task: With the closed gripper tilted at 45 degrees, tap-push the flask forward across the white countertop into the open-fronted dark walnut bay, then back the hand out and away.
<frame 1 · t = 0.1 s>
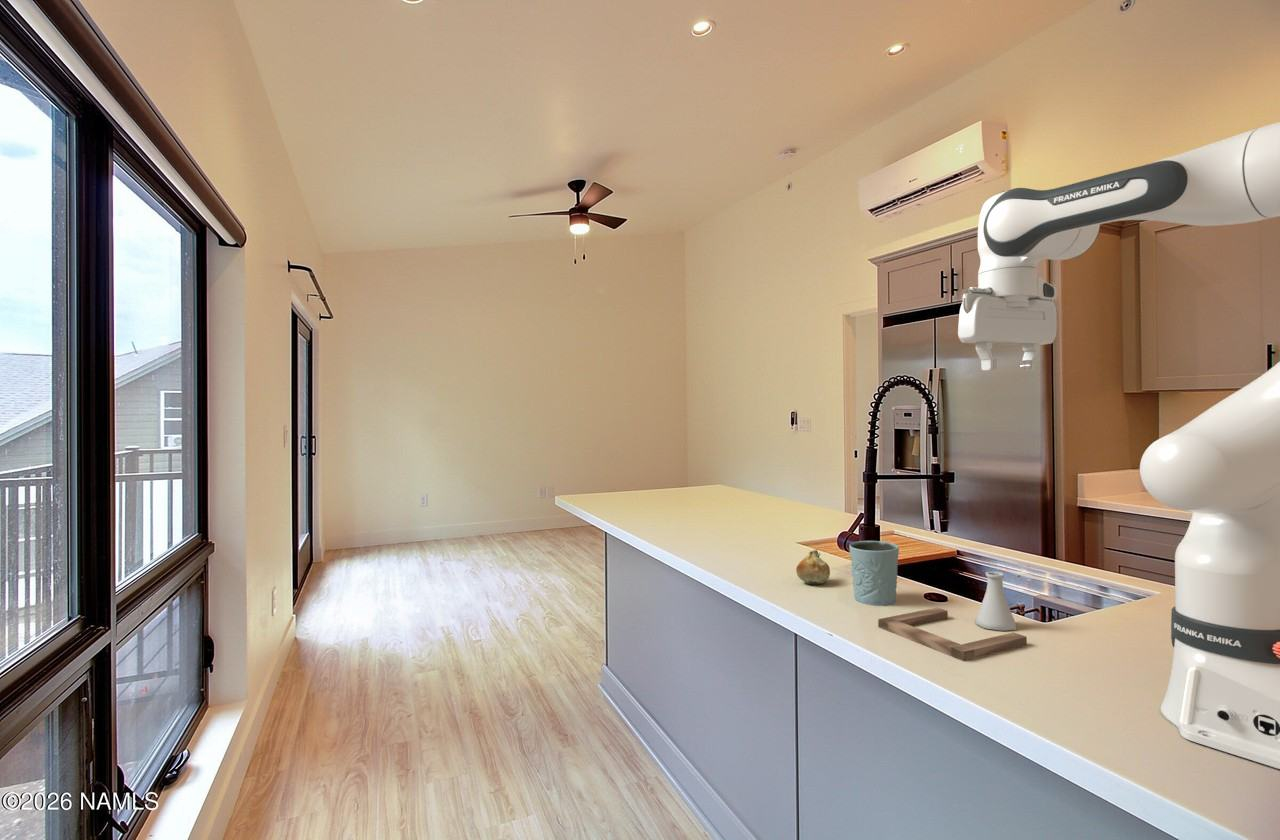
hand: (1008, 370, 112), 48 cm above the countertop, tool pointing down, fingers open, 8 cm apart
flask: (995, 626, 125), on the countertop
onion: (813, 584, 157), on the countertop
blue embossed cup: (874, 601, 142), on the countertop
walnut bay: (954, 634, 120), on the countertop
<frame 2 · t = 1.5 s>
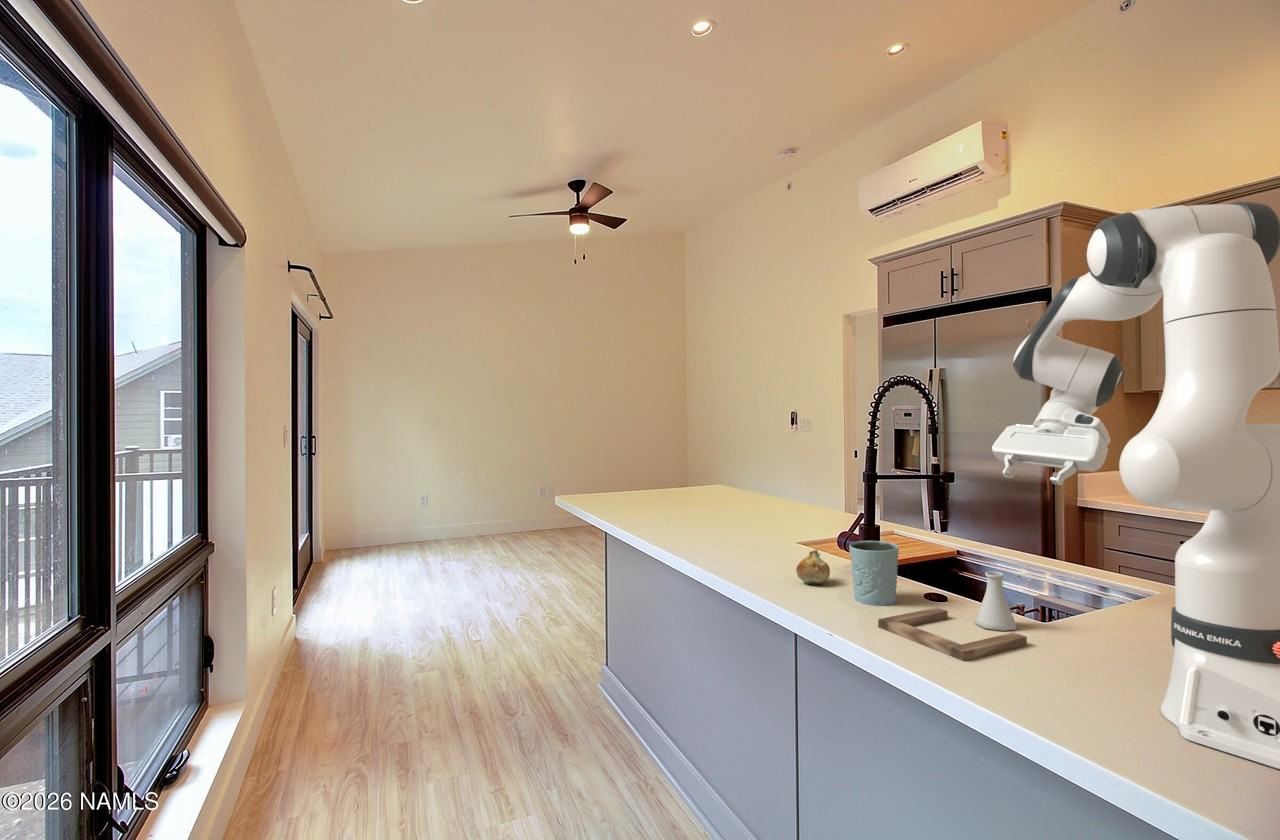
hand: (1030, 479, 129), 27 cm above the countertop, tool tilted 45°, fingers open, 8 cm apart
nothing on the countertop moved.
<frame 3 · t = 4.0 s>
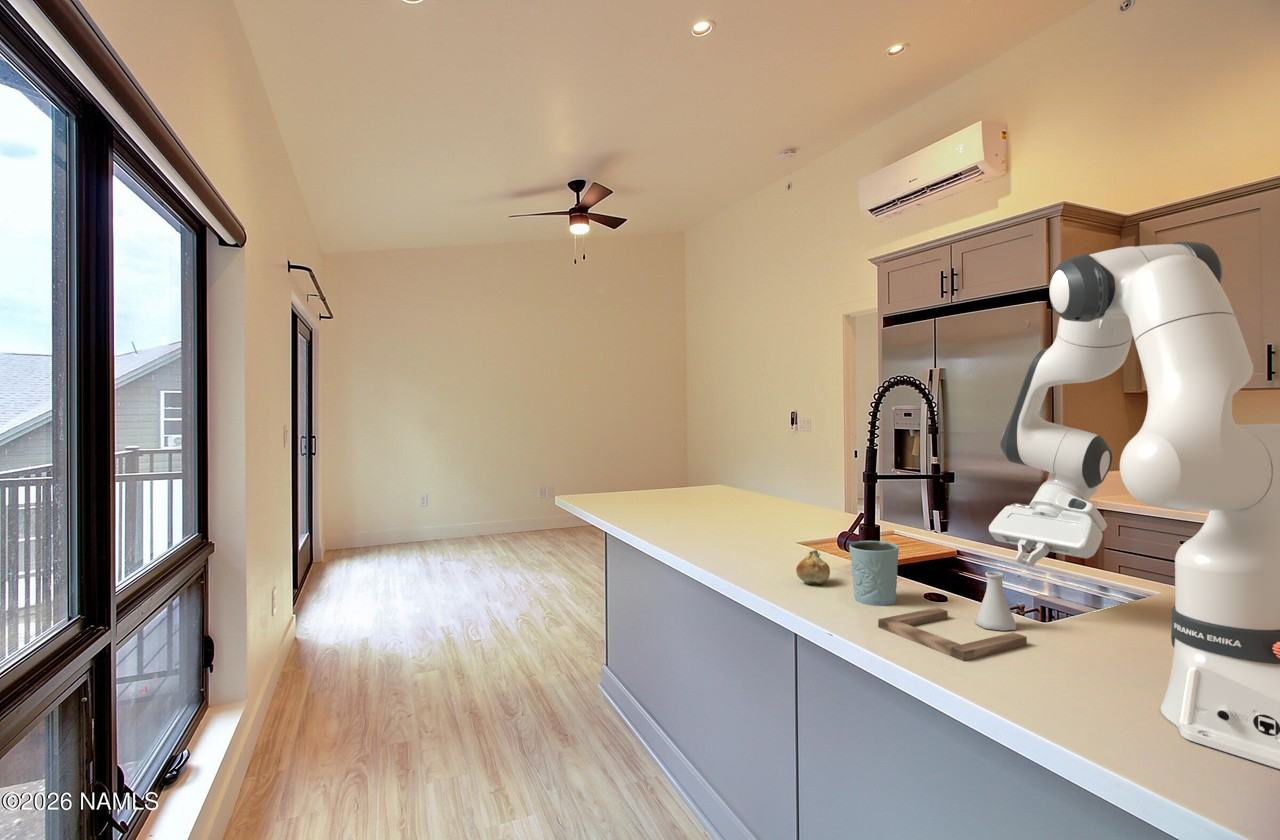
hand: (1023, 563, 128), 11 cm above the countertop, tool tilted 45°, fingers closed
nothing on the countertop moved.
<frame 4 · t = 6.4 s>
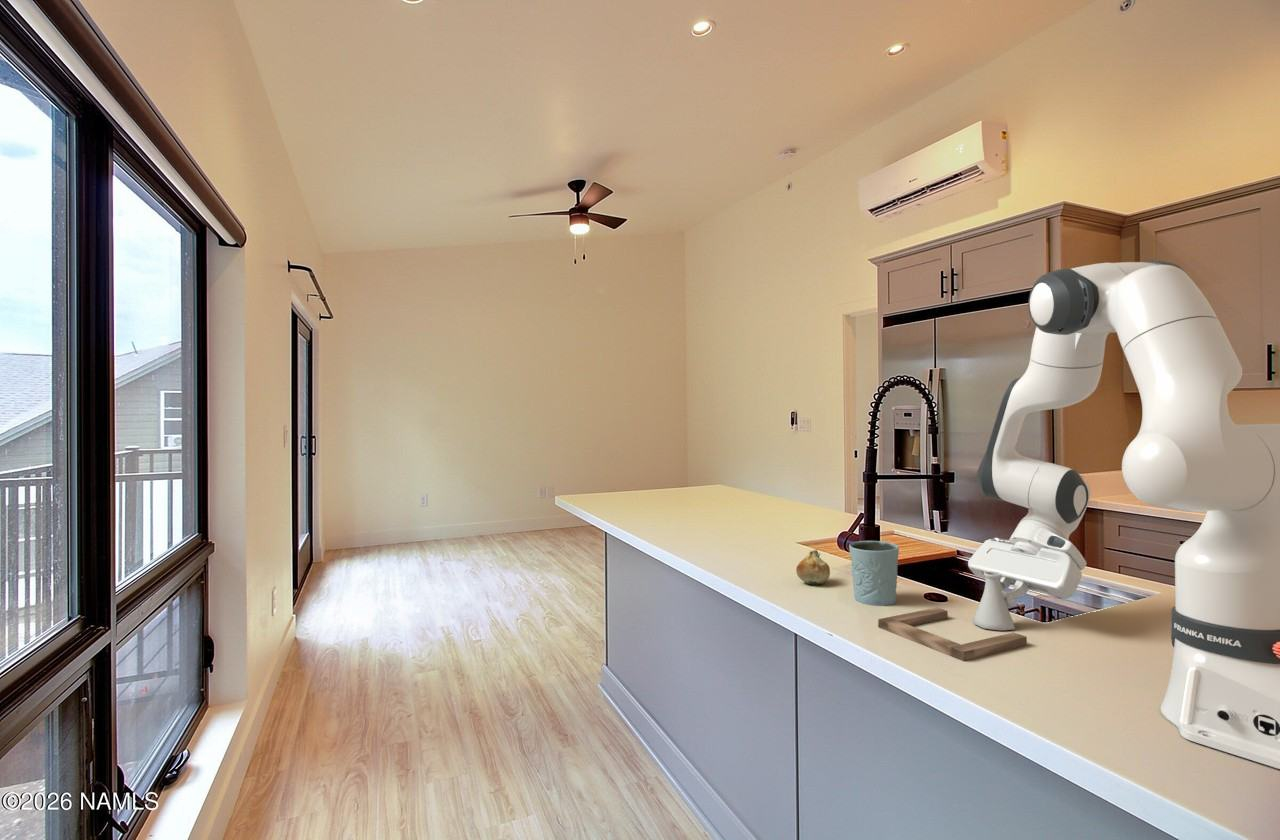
hand: (1002, 601, 125), 4 cm above the countertop, tool tilted 45°, fingers closed
flask: (993, 626, 125), on the countertop, touching gripper
everything else where it was.
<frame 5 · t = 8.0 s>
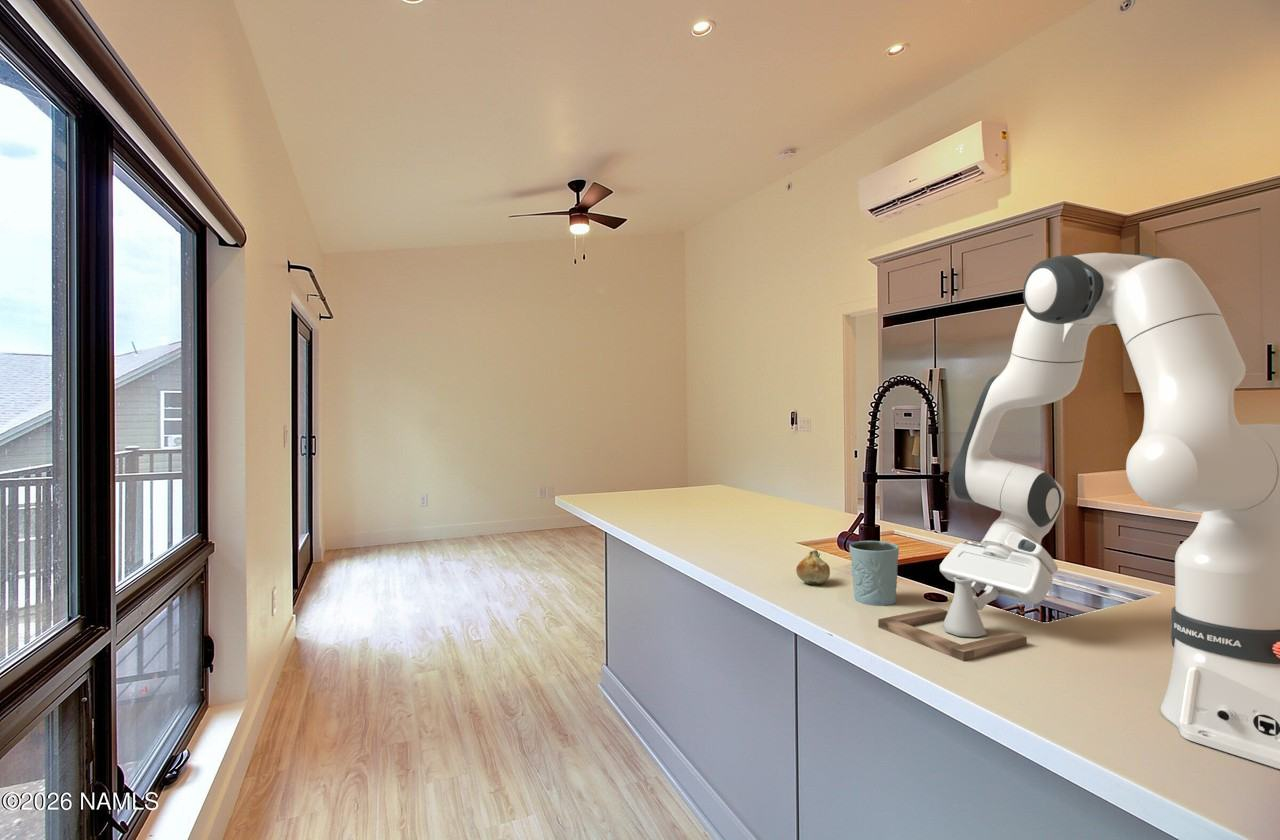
hand: (972, 606, 122), 4 cm above the countertop, tool tilted 45°, fingers closed, pressing on flask
flask: (964, 632, 122), on the countertop, touching gripper
everything else where it was.
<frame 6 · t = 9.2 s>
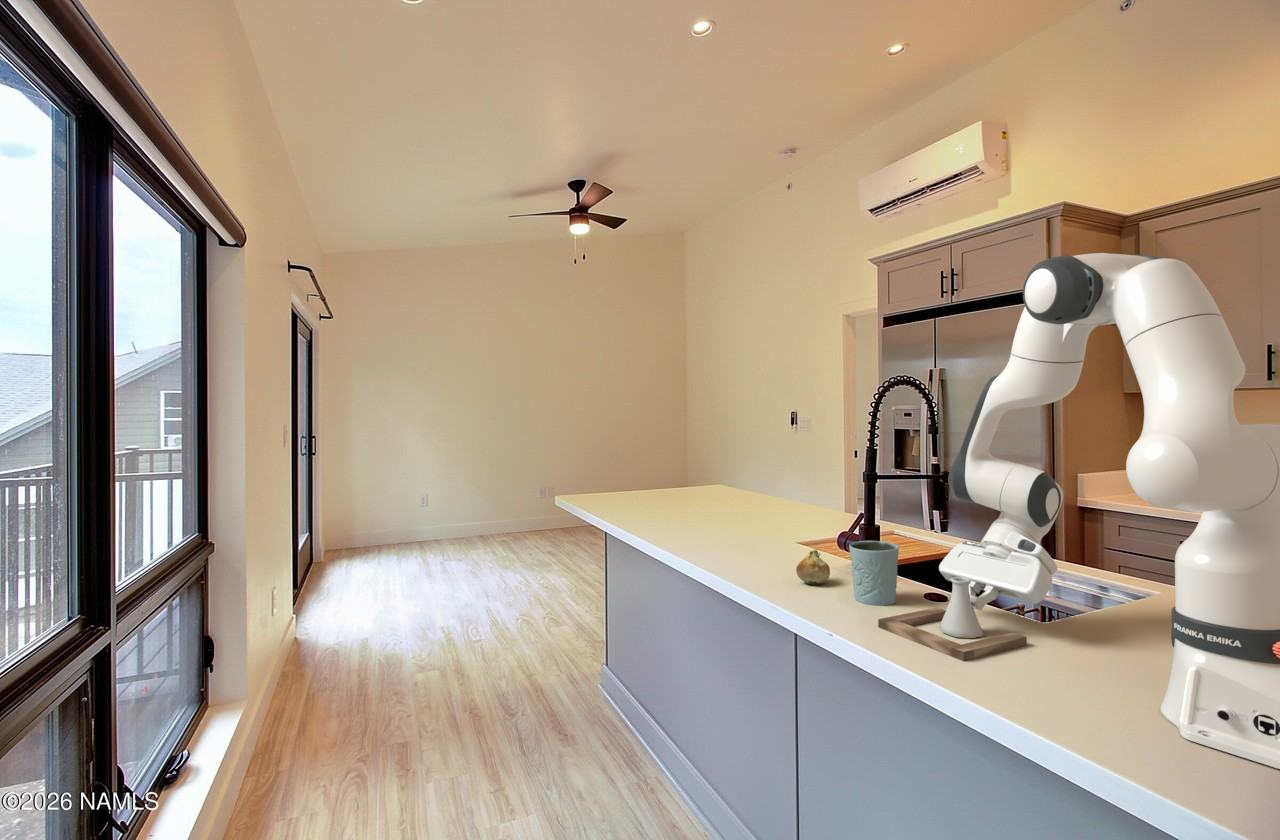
hand: (971, 606, 122), 4 cm above the countertop, tool tilted 45°, fingers closed
flask: (961, 633, 121), on the countertop
everything else where it was.
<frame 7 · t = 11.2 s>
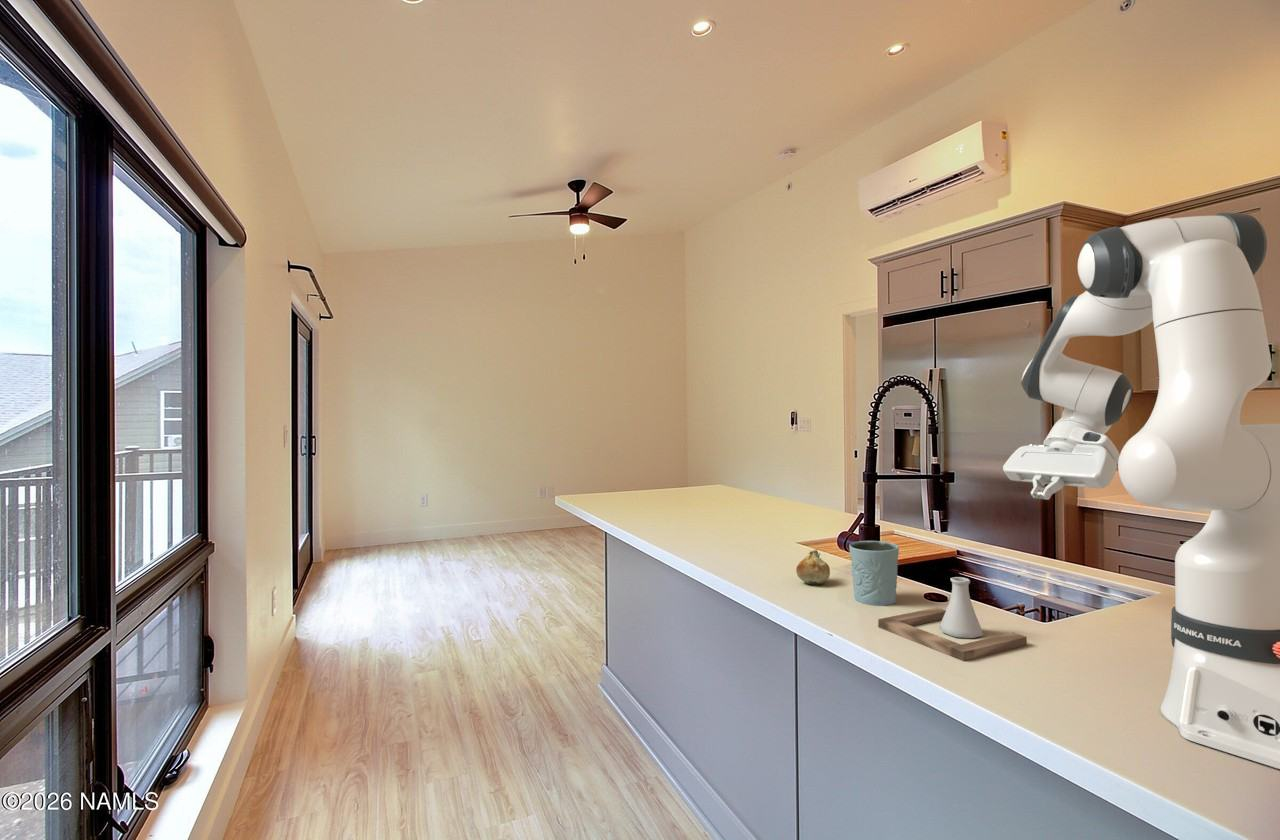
hand: (1039, 496, 130), 24 cm above the countertop, tool tilted 45°, fingers closed
nothing on the countertop moved.
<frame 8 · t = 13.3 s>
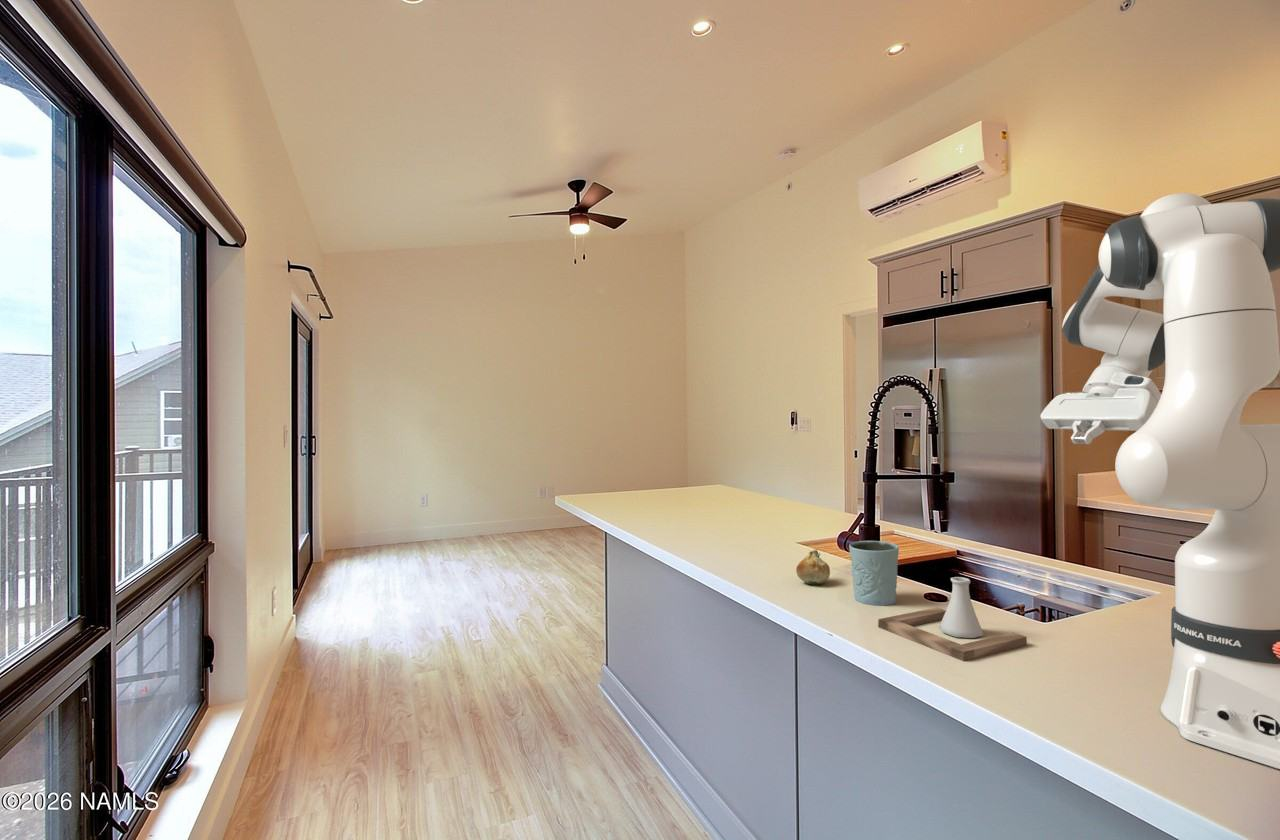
hand: (1079, 441, 128), 34 cm above the countertop, tool tilted 45°, fingers closed
nothing on the countertop moved.
at the end: flask inside the target area (2.6 cm from its centre), on the countertop; flask tilted 0° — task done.
